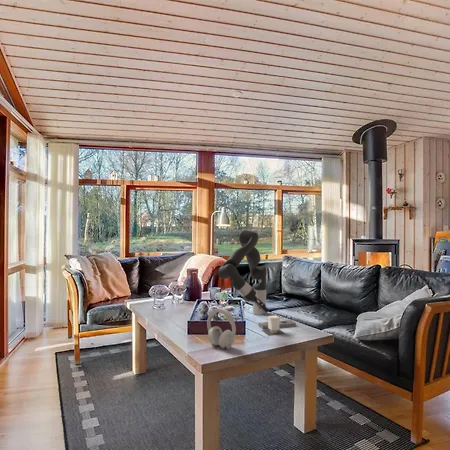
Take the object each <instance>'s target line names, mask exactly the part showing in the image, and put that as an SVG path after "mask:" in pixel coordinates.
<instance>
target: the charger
mask: <svg viewBox="0 0 450 450" xmlns="http://www.w3.org/2000/svg"><path fill="white" fill-rule="evenodd" d="M280 318H281V317H279V316H278V315H268V316H267V322H268V328H269V329H270V332H272V333H277V330H279V329H280V328H279V321H280ZM269 329H268V330H269Z"/></svg>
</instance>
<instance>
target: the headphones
mask: <svg viewBox="0 0 450 450" xmlns="http://www.w3.org/2000/svg"><path fill="white" fill-rule="evenodd" d="M217 313H220V314H222V315H224V316H225V318H226V319H227V320H228V322H229V324H230V325H231V330H230V329H226V330H224V331H223V330H222V328H221V327H220V326H218V325H215V326H212V325H211V322H212V319H213V317H214V316H215V315H216V314H217ZM206 326H207V328H206V329H207V331H208V332H207V333H208V334H207V335H208V341H209V342H210V344H211V345H212V346H220V347H221V348H222V349H226V350H230V349H231V347H232V345H233V344H234V342H235V337H236V333H237V327H236V323H235V319H234V316H233V315H232V314H231V313H230V311H229V310H227V309H225V308H222V307H218V308H215V309H212V310H211V311H210V312H209V314H208V316H207V320H206Z"/></svg>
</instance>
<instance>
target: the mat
mask: <svg viewBox="0 0 450 450" xmlns="http://www.w3.org/2000/svg"><path fill="white" fill-rule="evenodd" d="M261 331H262V332H263V333H264V334H266V335H267V336H268V337H270V336H272V337H273V336H280V335H281V336H282V335H287V333H286V332H284V331H282V330H281V328H279V330H277V333H272V332H270V329H261Z"/></svg>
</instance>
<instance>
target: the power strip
mask: <svg viewBox="0 0 450 450" xmlns="http://www.w3.org/2000/svg"><path fill="white" fill-rule="evenodd" d="M257 325H258V327H259V328H260V329H261V330H269V328H268V321H264V322H263V321H262V322H258V323H257ZM292 327H297V323H296V322H295V321H293V320H291V319H288V320H279V329H281V328H282V329H283V328H292Z"/></svg>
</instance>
